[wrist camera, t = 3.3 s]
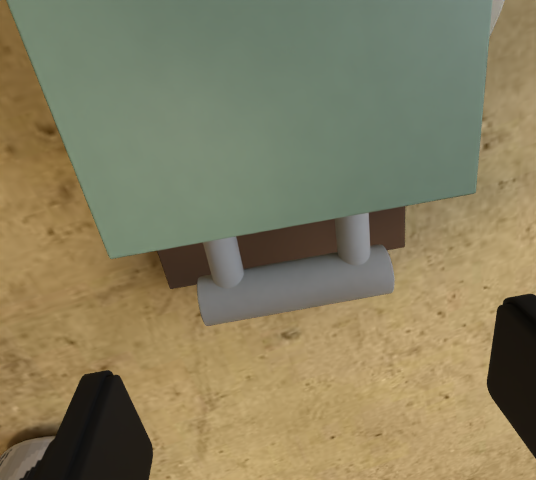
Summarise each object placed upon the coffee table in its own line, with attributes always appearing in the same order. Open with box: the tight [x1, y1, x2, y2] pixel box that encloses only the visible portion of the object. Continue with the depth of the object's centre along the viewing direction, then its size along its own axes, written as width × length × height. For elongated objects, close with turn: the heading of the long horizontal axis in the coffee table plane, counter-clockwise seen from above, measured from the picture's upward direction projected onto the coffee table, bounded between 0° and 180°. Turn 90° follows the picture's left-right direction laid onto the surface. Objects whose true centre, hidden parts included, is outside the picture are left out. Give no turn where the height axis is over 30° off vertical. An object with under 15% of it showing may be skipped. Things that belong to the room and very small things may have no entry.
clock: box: [6, 0, 505, 326], centre depth 10 cm, size 6×8×15 cm
